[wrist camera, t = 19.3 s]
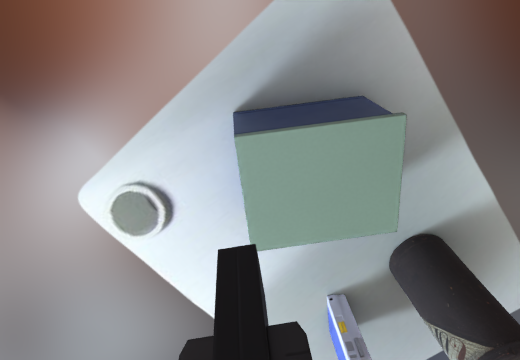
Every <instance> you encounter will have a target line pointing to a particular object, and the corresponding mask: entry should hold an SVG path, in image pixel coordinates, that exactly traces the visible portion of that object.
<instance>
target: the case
mask: <svg viewBox="0 0 520 360" xmlns="http://www.w3.org/2000/svg"><path fill="white" fill-rule="evenodd" d="M387 114H392V113H391V112H389V111H387V110H386V109H384V108H382V107H381V106H379V105H377V104H376V103H374V102H372V101H371V100H369V99H367V98H366V97H364V96H357V97H349V98H342V99H334V100H326V101H318V102H310V103H303V104H295V105H287V106H279V107H272V108H264V109H256V110H248V111H241V112H234V113H233V120H234V135H235V134H243V133H250V132H258V131H266V130H273V129H281V128H288V127H296V126H304V125H311V124H319V123H327V122H334V121H342V120H349V119H357V118H365V117H372V116H380V115H387Z"/></svg>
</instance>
